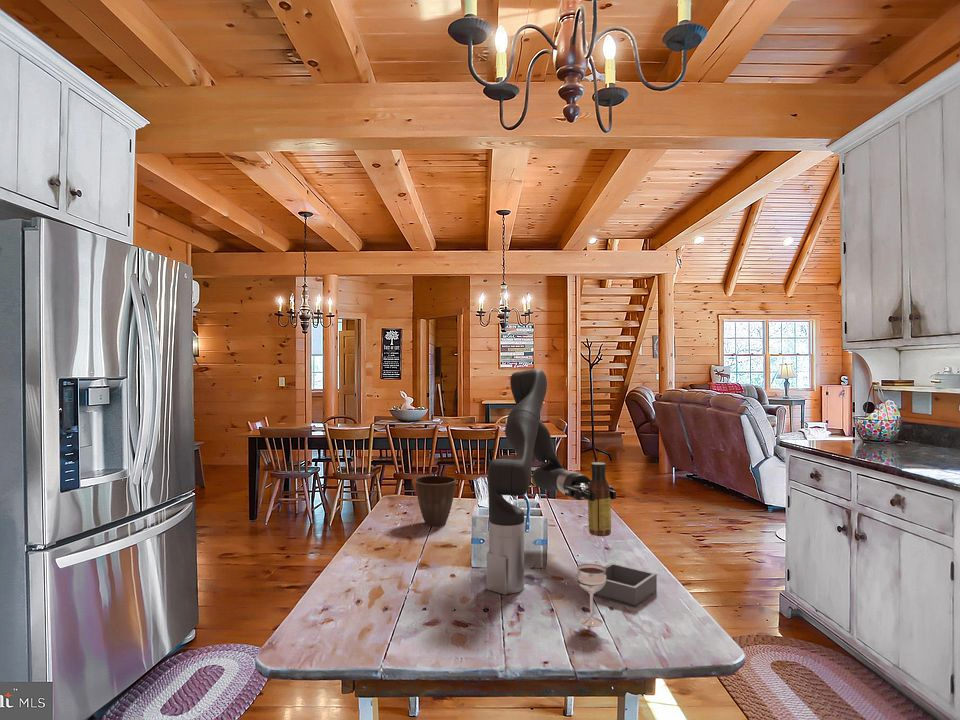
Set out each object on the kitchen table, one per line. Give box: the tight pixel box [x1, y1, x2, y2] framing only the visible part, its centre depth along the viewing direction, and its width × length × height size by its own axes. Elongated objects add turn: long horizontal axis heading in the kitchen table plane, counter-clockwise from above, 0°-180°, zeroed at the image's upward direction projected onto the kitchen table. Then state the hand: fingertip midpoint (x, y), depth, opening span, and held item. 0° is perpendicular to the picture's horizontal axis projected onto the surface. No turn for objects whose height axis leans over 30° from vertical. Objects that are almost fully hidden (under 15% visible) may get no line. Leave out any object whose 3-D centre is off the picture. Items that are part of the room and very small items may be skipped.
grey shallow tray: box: [593, 562, 658, 608], centre depth 151 cm, size 13×13×5 cm
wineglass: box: [576, 563, 607, 628], centre depth 134 cm, size 7×7×12 cm
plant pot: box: [414, 475, 457, 527], centre depth 215 cm, size 15×15×16 cm
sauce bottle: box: [587, 461, 612, 537], centre depth 166 cm, size 6×6×20 cm
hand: (604, 496), depth 164 cm, fingers closed on sauce bottle, 6 cm apart
